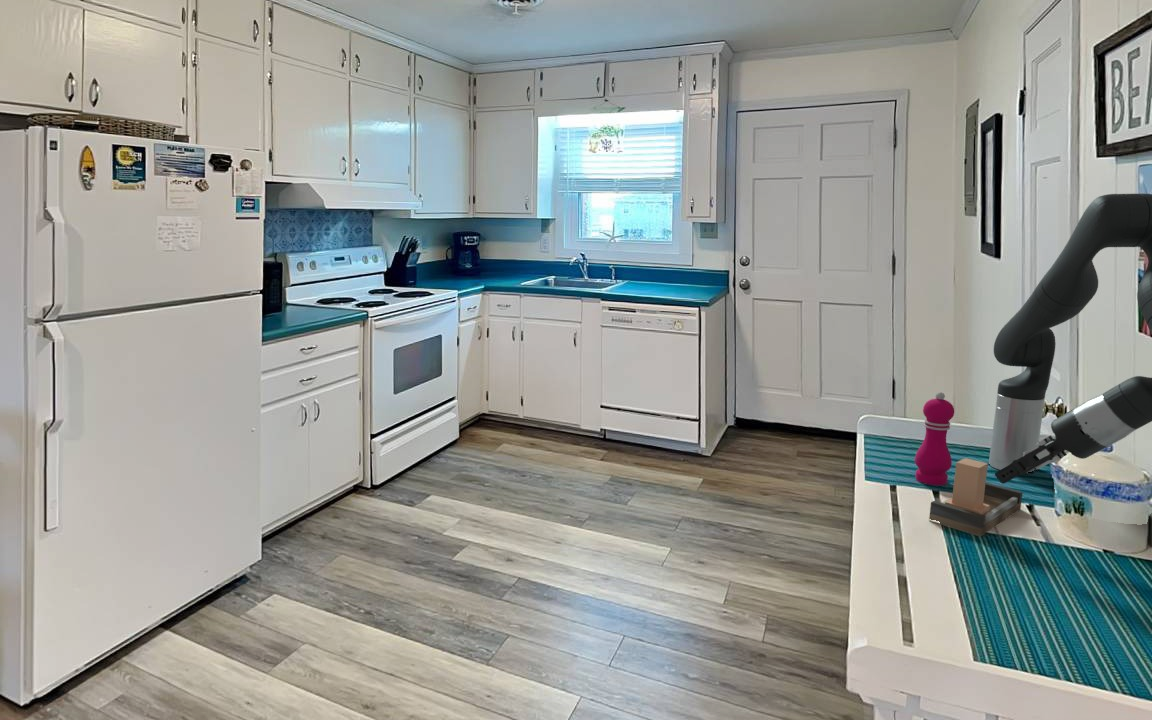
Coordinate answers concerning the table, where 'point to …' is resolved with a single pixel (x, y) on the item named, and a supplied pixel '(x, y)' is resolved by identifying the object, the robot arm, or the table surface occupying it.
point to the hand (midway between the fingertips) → (1007, 473)
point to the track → (1001, 508)
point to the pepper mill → (935, 442)
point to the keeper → (970, 486)
